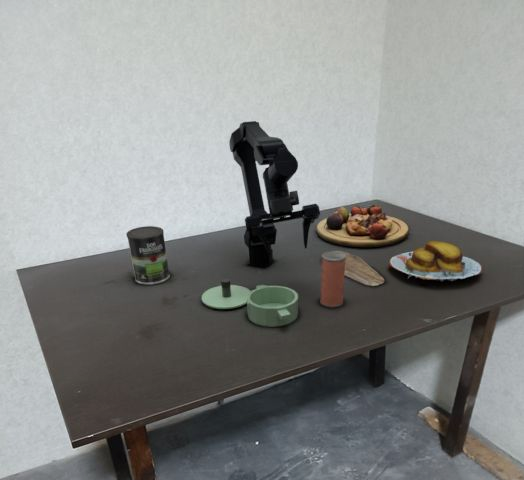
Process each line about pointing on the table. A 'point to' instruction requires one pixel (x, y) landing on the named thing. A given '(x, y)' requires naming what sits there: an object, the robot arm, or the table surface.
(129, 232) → the coffee can
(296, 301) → the pot
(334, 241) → the wooden plate
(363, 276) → the brown flat tapered piece
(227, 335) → the table surface
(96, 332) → the table surface
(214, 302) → the pot lid
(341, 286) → the reddish translucent cylinder
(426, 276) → the food on plate
